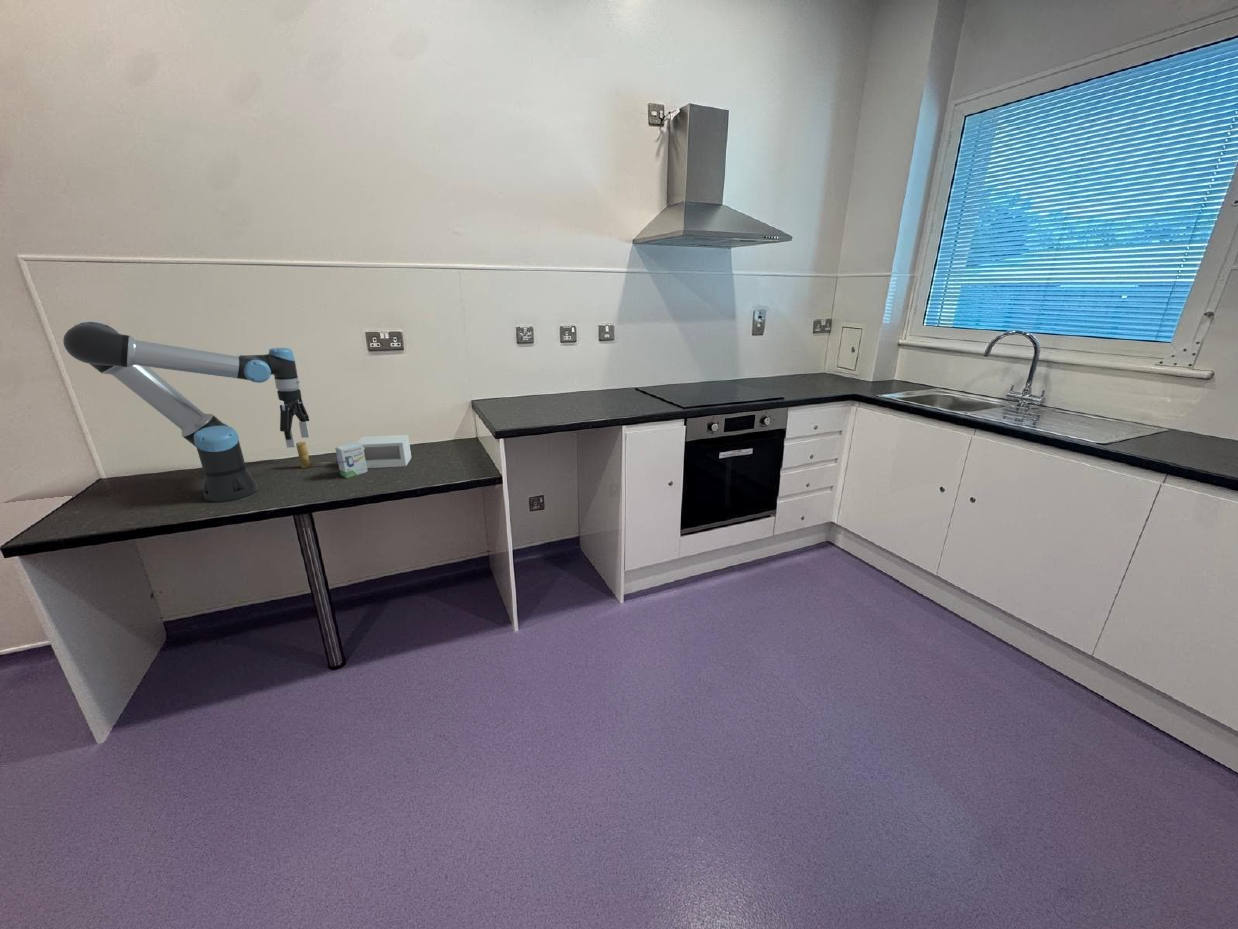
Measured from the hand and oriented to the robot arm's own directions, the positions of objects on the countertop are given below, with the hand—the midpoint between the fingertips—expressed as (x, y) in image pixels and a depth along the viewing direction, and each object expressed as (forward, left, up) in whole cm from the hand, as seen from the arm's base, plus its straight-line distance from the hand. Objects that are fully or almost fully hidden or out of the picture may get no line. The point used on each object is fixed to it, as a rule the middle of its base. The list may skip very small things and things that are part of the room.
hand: (298, 442), depth 196 cm
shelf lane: (+30, 0, -11) cm, 32 cm away
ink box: (+22, -11, -11) cm, 27 cm away
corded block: (+10, 0, -10) cm, 14 cm away
